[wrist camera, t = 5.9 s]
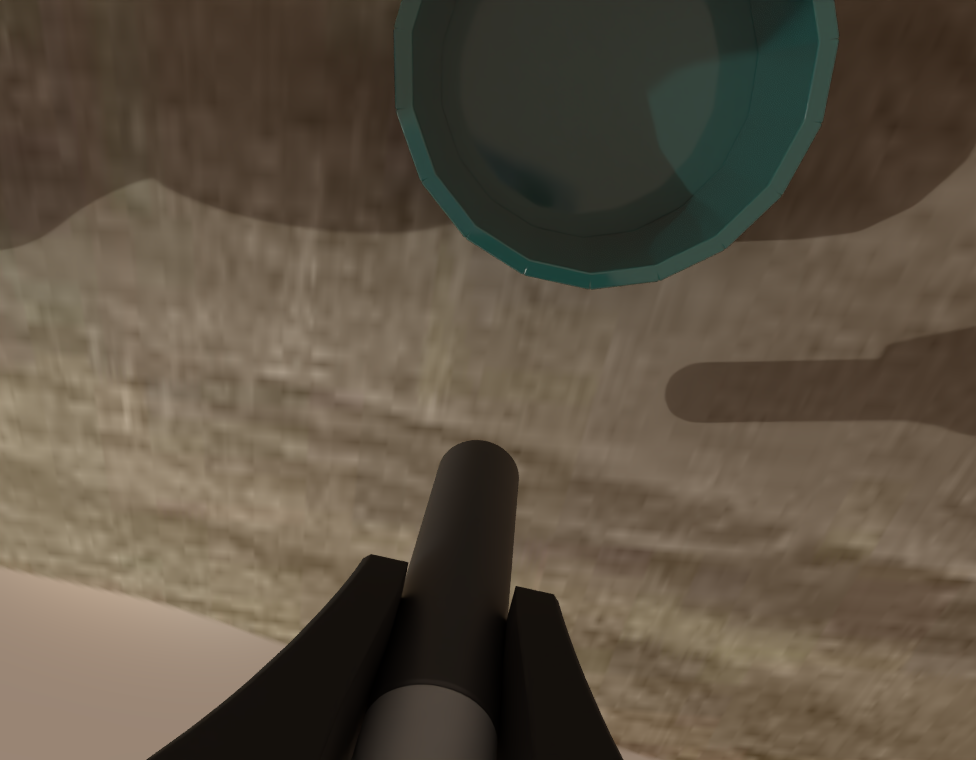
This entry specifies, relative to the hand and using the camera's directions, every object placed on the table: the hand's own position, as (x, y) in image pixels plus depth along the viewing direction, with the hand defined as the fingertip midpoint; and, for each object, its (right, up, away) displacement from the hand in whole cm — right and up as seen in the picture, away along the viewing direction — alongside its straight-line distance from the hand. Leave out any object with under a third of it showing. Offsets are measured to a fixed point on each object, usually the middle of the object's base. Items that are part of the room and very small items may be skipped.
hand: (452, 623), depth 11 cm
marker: (0, +2, +4) cm, 5 cm away
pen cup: (+3, +11, +5) cm, 12 cm away
